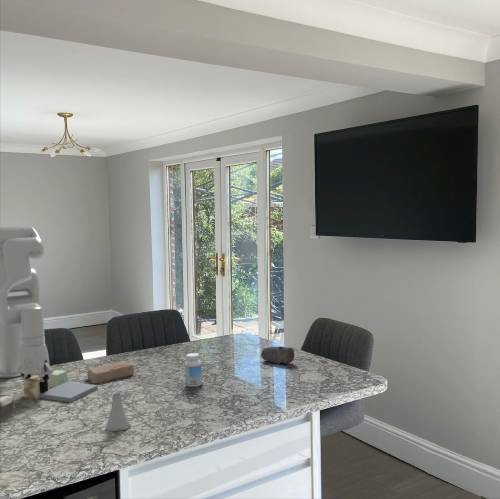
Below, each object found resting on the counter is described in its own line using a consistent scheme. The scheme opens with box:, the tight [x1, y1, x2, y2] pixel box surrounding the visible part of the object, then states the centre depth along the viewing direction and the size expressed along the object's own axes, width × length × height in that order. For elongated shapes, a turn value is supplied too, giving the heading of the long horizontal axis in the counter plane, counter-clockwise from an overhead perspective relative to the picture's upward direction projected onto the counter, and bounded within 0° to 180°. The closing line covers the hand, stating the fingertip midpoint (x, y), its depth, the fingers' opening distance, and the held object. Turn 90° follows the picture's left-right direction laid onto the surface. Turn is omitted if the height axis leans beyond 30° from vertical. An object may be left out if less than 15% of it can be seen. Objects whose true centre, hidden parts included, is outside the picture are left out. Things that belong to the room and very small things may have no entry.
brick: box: [86, 360, 135, 384], centre depth 210 cm, size 17×8×5 cm, turn 127°
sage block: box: [49, 369, 68, 388], centre depth 201 cm, size 5×5×5 cm
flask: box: [105, 392, 131, 432], centre depth 159 cm, size 7×7×10 cm
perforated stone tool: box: [260, 346, 295, 365], centre depth 222 cm, size 15×5×7 cm, turn 56°
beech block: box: [22, 375, 51, 400], centre depth 191 cm, size 6×6×6 cm
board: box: [39, 381, 99, 403], centre depth 191 cm, size 14×14×2 cm
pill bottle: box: [184, 352, 203, 388], centre depth 197 cm, size 6×6×11 cm
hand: (36, 390), depth 191 cm, fingers open, 6 cm apart
